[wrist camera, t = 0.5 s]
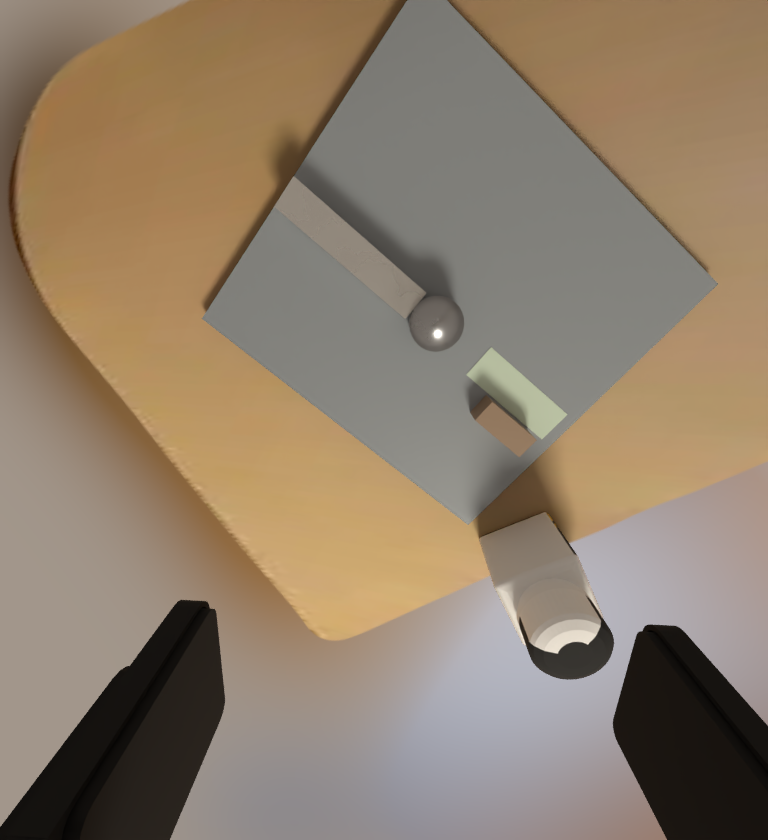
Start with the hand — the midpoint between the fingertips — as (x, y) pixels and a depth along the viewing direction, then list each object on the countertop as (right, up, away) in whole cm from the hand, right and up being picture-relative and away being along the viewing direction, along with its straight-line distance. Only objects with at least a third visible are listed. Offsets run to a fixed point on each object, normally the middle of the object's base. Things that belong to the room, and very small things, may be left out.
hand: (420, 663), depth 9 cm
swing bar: (-1, +17, +22) cm, 28 cm away
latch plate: (+5, +15, +24) cm, 29 cm away
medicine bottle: (+13, -8, +31) cm, 34 cm away
